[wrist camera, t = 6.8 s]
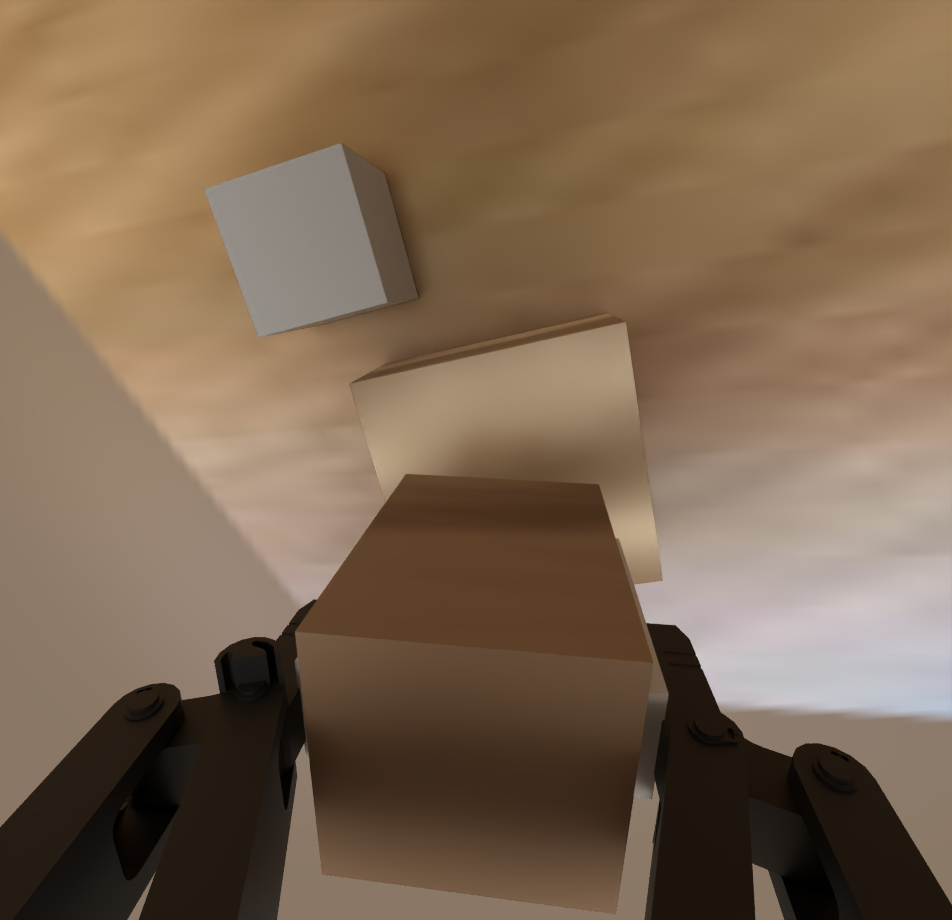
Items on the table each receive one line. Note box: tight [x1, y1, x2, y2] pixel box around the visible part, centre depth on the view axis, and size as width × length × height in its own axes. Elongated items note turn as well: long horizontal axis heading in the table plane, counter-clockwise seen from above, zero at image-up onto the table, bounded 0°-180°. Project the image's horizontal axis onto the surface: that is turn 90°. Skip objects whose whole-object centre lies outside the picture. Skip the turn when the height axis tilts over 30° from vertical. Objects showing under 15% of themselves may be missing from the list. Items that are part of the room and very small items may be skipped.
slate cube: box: [204, 143, 418, 337], centre depth 24 cm, size 6×6×6 cm
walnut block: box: [295, 474, 653, 914], centre depth 13 cm, size 6×6×8 cm
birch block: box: [349, 313, 663, 584], centre depth 27 cm, size 12×12×6 cm
